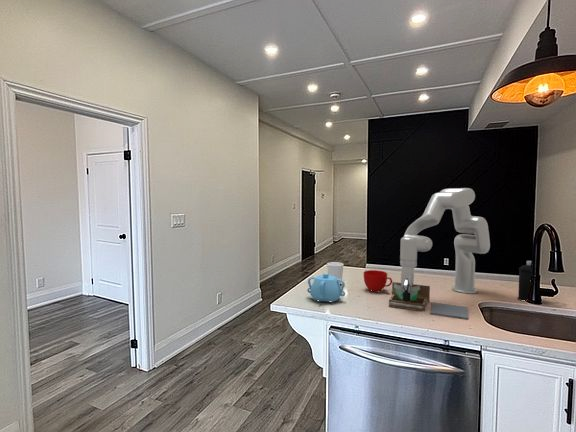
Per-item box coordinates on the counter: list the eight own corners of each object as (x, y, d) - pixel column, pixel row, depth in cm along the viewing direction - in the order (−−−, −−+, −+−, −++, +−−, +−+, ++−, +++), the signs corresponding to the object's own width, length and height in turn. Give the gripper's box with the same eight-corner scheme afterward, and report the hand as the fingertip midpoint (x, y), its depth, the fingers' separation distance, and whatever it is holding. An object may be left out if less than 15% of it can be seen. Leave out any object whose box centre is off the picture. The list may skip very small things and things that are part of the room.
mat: (432, 303, 159) (432, 302, 159) (467, 308, 152) (467, 306, 152) (430, 314, 145) (430, 312, 145) (468, 319, 138) (468, 318, 138)
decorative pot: (317, 306, 157) (317, 278, 156) (305, 296, 172) (305, 271, 171) (347, 302, 162) (347, 276, 161) (333, 293, 177) (333, 269, 176)
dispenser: (392, 296, 171) (392, 281, 170) (429, 301, 162) (429, 286, 162) (386, 306, 156) (386, 290, 155) (426, 312, 147) (427, 295, 147)
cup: (331, 281, 202) (331, 261, 201) (346, 284, 196) (346, 263, 196) (324, 285, 194) (324, 264, 193) (338, 287, 188) (338, 266, 188)
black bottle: (516, 300, 163) (517, 261, 162) (519, 296, 169) (520, 258, 168) (536, 303, 158) (538, 263, 157) (538, 299, 164) (540, 260, 163)
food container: (395, 306, 155) (395, 286, 155) (393, 302, 161) (393, 283, 161) (422, 308, 153) (422, 287, 152) (419, 304, 159) (420, 284, 158)
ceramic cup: (385, 296, 171) (385, 278, 170) (358, 290, 183) (358, 272, 183) (398, 291, 179) (398, 274, 179) (372, 285, 192) (372, 269, 191)
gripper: (402, 258, 165) (402, 292, 166) (397, 265, 150) (396, 301, 151) (418, 260, 162) (418, 294, 163) (414, 266, 146) (414, 304, 147)
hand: (407, 297), depth 157 cm, fingers open, 8 cm apart
